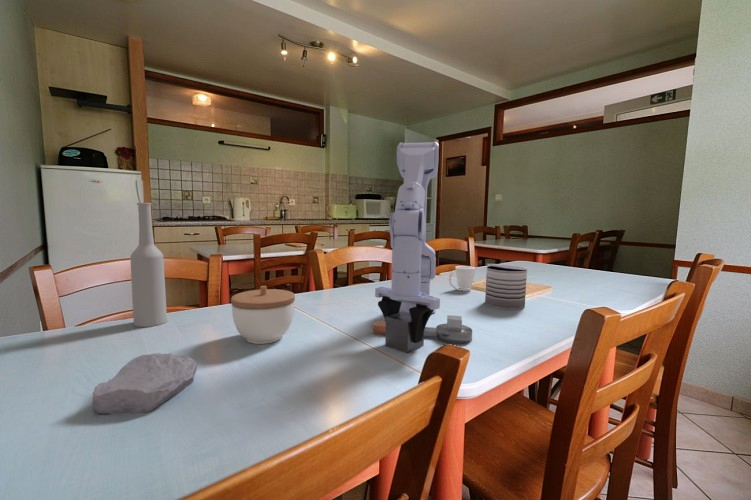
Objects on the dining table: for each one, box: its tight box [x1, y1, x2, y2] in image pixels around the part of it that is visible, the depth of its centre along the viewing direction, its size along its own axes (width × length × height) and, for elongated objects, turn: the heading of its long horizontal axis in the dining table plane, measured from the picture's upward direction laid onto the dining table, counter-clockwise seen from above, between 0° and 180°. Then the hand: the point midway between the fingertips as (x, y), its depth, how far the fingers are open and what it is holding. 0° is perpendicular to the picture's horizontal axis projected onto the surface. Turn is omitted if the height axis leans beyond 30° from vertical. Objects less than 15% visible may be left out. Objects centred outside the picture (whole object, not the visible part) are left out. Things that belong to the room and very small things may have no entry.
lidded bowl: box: [230, 285, 296, 345], centre depth 73 cm, size 13×13×11 cm
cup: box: [448, 265, 476, 292], centre depth 123 cm, size 7×10×8 cm
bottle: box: [129, 202, 168, 328], centre depth 81 cm, size 7×7×28 cm
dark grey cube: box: [384, 311, 425, 354], centre depth 70 cm, size 6×6×6 cm
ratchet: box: [372, 314, 473, 345], centre depth 76 cm, size 21×8×4 cm, turn 78°
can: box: [484, 263, 528, 310], centre depth 104 cm, size 11×11×12 cm
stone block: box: [91, 352, 198, 415], centre depth 51 cm, size 12×5×10 cm
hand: (404, 337), depth 70 cm, fingers closed on dark grey cube, 5 cm apart
